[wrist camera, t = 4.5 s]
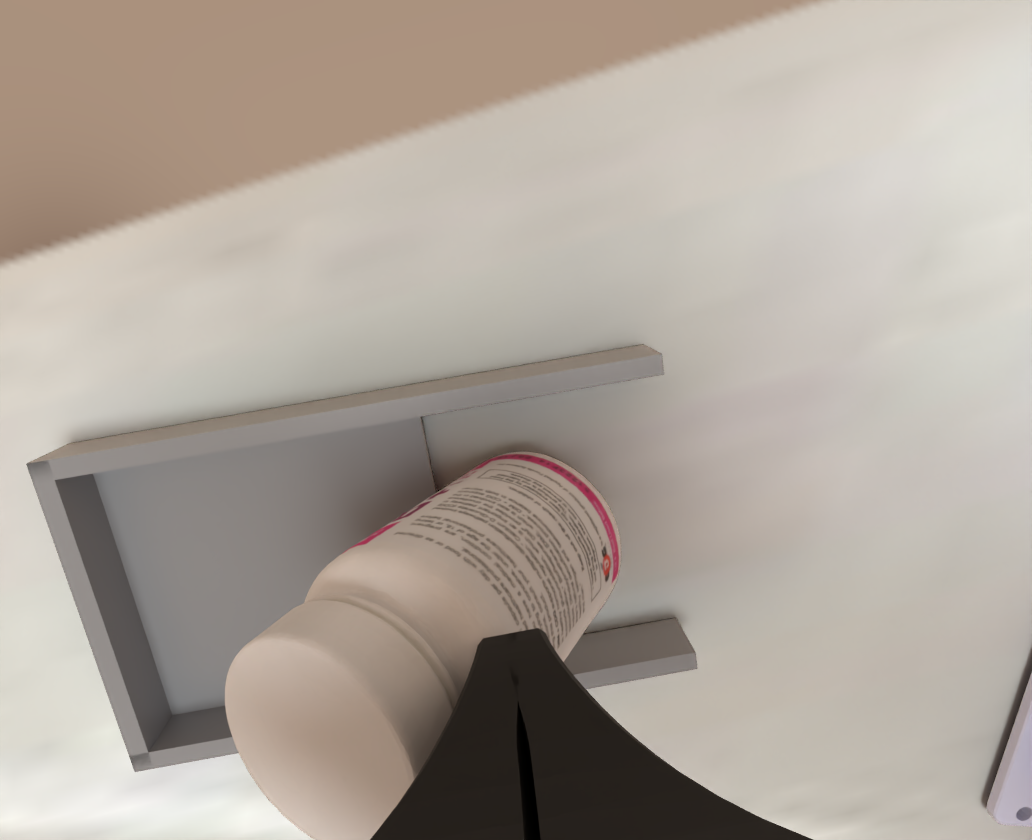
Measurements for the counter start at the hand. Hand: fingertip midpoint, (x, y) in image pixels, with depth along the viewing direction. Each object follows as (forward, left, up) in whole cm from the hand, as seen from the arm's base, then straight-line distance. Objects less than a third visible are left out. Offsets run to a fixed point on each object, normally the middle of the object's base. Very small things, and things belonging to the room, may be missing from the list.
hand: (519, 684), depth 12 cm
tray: (+3, +1, -8) cm, 8 cm away
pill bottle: (-1, 0, -7) cm, 7 cm away
